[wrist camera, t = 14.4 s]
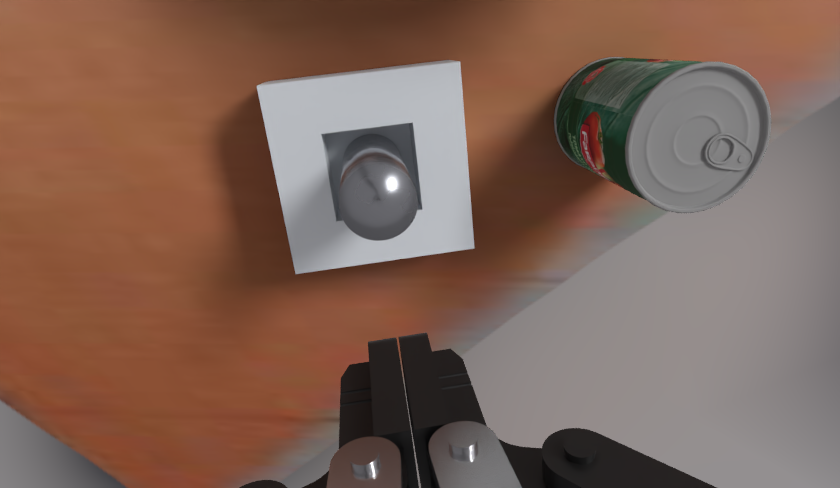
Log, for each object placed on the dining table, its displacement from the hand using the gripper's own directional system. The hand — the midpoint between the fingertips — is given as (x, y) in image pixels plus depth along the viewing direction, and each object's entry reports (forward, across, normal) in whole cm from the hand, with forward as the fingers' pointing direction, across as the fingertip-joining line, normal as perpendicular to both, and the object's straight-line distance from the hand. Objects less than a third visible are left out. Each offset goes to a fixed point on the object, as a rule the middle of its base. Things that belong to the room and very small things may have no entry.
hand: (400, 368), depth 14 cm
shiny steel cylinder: (+25, 0, 0) cm, 25 cm away
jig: (+26, 0, 0) cm, 26 cm away
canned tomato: (+26, -17, -1) cm, 31 cm away
